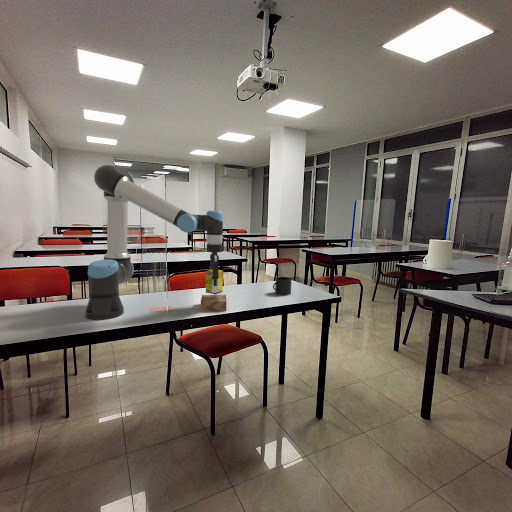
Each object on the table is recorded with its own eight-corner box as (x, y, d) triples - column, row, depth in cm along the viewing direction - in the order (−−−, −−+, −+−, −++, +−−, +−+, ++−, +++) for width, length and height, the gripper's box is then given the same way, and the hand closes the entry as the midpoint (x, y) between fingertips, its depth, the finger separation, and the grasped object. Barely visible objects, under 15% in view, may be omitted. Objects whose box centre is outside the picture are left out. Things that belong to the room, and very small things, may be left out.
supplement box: (205, 292, 145) (205, 270, 143) (212, 290, 150) (213, 268, 149) (215, 294, 142) (215, 272, 141) (222, 292, 147) (223, 270, 146)
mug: (268, 292, 179) (269, 277, 178) (284, 290, 185) (285, 276, 184) (277, 296, 171) (277, 280, 170) (294, 294, 177) (294, 279, 176)
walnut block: (200, 311, 140) (200, 301, 140) (201, 304, 152) (202, 294, 151) (226, 311, 142) (226, 301, 141) (225, 304, 154) (225, 294, 153)
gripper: (225, 245, 134) (224, 295, 137) (219, 241, 154) (219, 285, 157) (208, 245, 132) (207, 295, 135) (205, 241, 152) (204, 285, 155)
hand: (214, 290), depth 146 cm, fingers closed on supplement box, 8 cm apart
